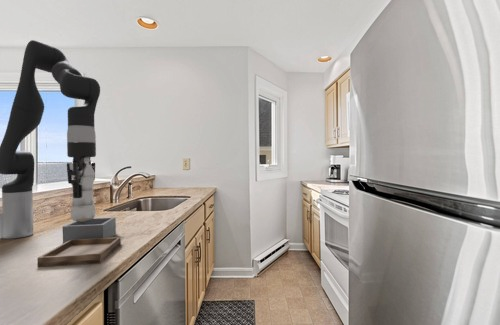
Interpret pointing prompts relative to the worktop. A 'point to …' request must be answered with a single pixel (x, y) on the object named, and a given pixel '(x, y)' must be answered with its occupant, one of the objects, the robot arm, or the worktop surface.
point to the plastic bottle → (84, 197)
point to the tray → (80, 252)
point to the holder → (90, 229)
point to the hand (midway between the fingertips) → (82, 196)
